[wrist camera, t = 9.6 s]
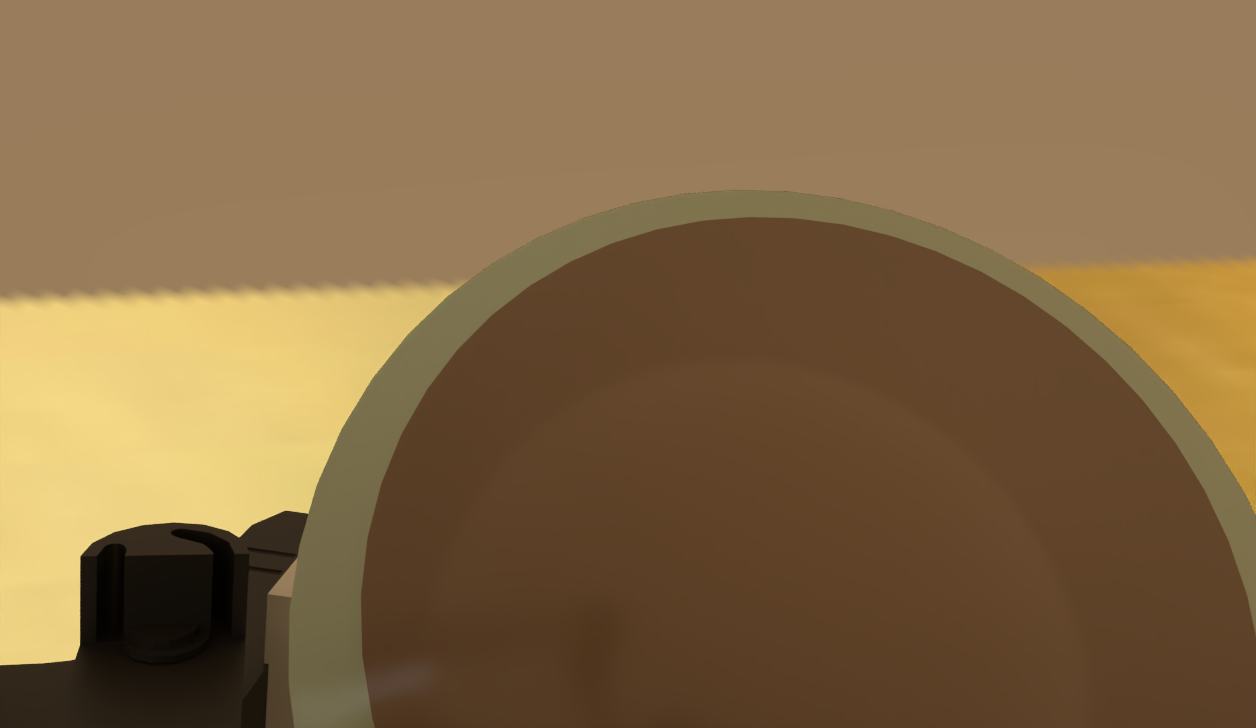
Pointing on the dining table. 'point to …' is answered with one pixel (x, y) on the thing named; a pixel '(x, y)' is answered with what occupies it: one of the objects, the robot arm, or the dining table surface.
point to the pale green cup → (770, 496)
